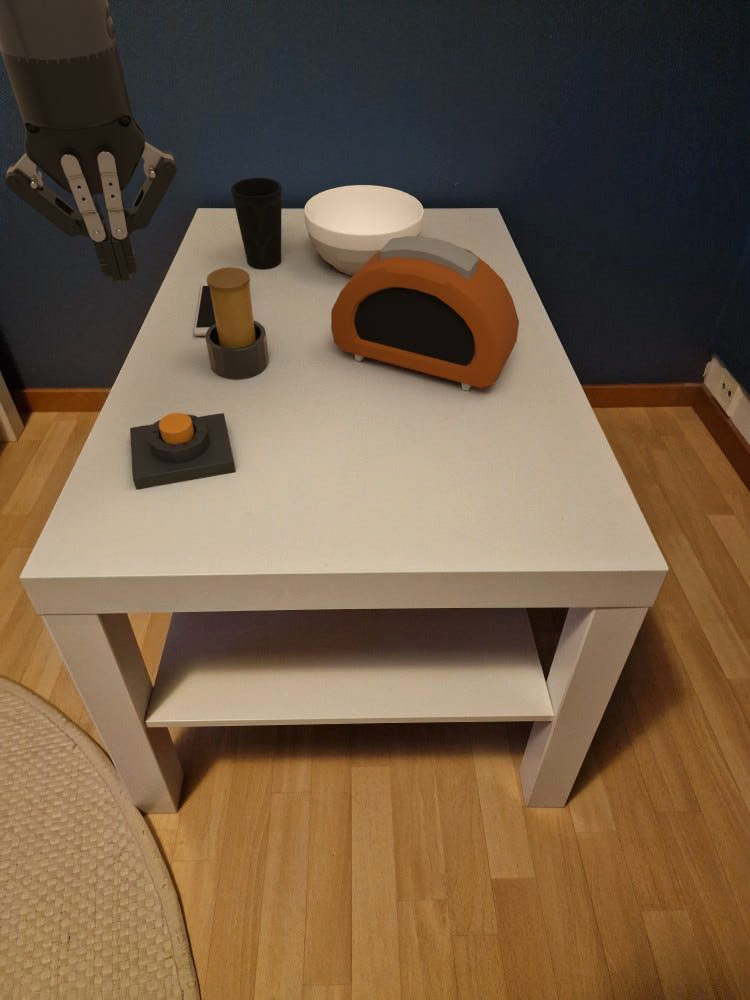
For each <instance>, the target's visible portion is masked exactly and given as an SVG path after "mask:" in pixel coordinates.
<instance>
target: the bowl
mask: <svg viewBox="0 0 750 1000" xmlns="http://www.w3.org/2000/svg"><path fill="white" fill-rule="evenodd" d="M303 215H304V216H303V217H304V222H305V227H306V230H307V234H308V237H309V240H310V243H311V245H312V247H313V248H314V250H315V251H317V253H318V254H319V255H320V257H321V258H322V259H323V261H325V262H327V263H328V264H330V265H332V266H333V268H334V269H335V270H337V271H339V272H340V273H342V274H346V275H348V276H351V277H353V276H354V275H355V274H356V273H357V272H358V271H359V270H360V269H361V268H362V267H363V266H364V265H365V264H366V262H367V261H368V260H369V259H370V258H371V257H372V256H373V255H374V254H375V253H376V252H378V251H380V250H381V249H382V248H383V247H384V246H385V245H386V244H387V243H388V242H389V241H390V240H391V239H393V238H400V237H406V236H420V234H421V231H422V228H423V223H424V215H425V211H424V206H423V205H422V203H421V202H420V201H419V199H417V197H415V196H413V195H411V194H409V193H407V192H404V191H402V190H400V189H395V188H392V187H387V186H382V185H372V184H371V185H370V184H356V185H355V184H354V185H344V186H337V187H334V188H330V189H327V190H324V191H321V192H319V193H317V194H316V195H313V196H312V197H311V198H309V200H307V201H306V204H305V205H304V209H303Z"/></svg>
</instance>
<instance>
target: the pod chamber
mask: <svg viewBox="0 0 750 1000" xmlns="http://www.w3.org/2000/svg"><path fill="white" fill-rule="evenodd" d="M254 328H255V336H256V341H255V342H254V343H253V344H250V345H248V346H245V347H240V348H224V347H221V346H220V344H219V338H218V332H217V326H216V323H215V324H214V325H213V326H211V327H210V328H209V329H208V330H207V332H206V334H205V336H204V338H205V343H206V344H205V345H206V348H207V353H208V354H207V355H208V358H209V364H210V369H211V370H212V372H213V373H215V374H216V375H217V376H219V377H221V378H224V379H228V380H246V379H250V378H253V377H257V376H258V375H259V374H261V373H262V372H264V371H265V370H266V369H267V367H268V366H269V361H270V357H269V355H270V354H269V347H268V339H267V332H266V328H265V326H264V325H262V324H261V323H260V322H259V321H256V320H254Z"/></svg>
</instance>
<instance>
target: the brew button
mask: <svg viewBox="0 0 750 1000" xmlns="http://www.w3.org/2000/svg"><path fill="white" fill-rule="evenodd" d="M187 414H188V413H183V412H172V413H169V414H166V415H165V416H163V417H162V418H161V419H159V420H160V422H159V429H160V432H161V436H162V439H163V440H164V441H165V442H166V443H169V444H179V443H185V442H186V441H188V440H190V439H191V438H192V437H193V435H194V429H193V424H192V420H191V418H190V417H189V416H188V415H187Z"/></svg>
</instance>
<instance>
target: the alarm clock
mask: <svg viewBox="0 0 750 1000" xmlns="http://www.w3.org/2000/svg"><path fill="white" fill-rule="evenodd" d="M332 306H333V307H332V308H331V311H330V313H331V315H330V331H331V334H332V339H333V342H334V344H335V345H336V346H337V347H338V348H339V349H340V350H341V351H342V352H345V353H350V354H353V355H354V358H355V361H356V362H362V361H363V360H364V359H365V358H367V359H372V360H374V361H378V362H381V363H387V364H390V365H393V366H398V367H402V368H405V369H408V370H413V371H416V372H420V373H424V374H428V375H430V376H431V375H432V376H435V377H438V378H442V379H445V380H450V381H453V382H456V383H457V382H458V383H461V389H462V390H463V391H470V389H471V387H472V386H473V387H475V388H479V389H484V388H487V387H489V386H493V385H495V383H496V381H497V379H498V377H499V376H500V374H501V372H502V371H503V368H504V367H505V365H506V363H507V361H508V360H509V358H510V356H511V354H512V352H513V350H514V348H515V345H516V343H517V341H518V333H519V326H520V320H519V317H518V313H517V310H516V306H515V302H514V299H513V297H512V295H511V294H510V291H509V289H508V287H507V285H506V283H505V281H504V279H503V278H502V277H501V276H500V275H499V274H498V273H497V272H496V271H495V270H494V269H493V268H492V267H491V266H490V265H489V264H488V263H486V261H484V260H483V259H481V258H480V257H479V256H478V255H476V254H475V253H474V252H473V251H471V250H469V249H467V248H463V247H460V246H458V245H456V244H454V243H451V242H448V241H446V240H444V239H443V240H442V239H439V238H436V237H429V236H420V235H419V236H406V237H400V238H393V239H391V240H390V241H389V242H388V243H387V244H386V245H385V246H384V247H383V248H382V249H381V250H380V251H378V252H376V253H375V254H374V255H373V256H372V257H371V258H370V259H369V260H368V261H367V262H366V264H365V265H364V266H363V267H362V268H361V269H360V270H359V271H358V272H357V273H356V274H355V275H354V276H351V278H350V279H349V280H348V282H346V284H345V285H344V287H343V288H342V289H341V291H340V292H339V294H338V296H337V298H336V300H335V302H334V304H333V305H332Z"/></svg>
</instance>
